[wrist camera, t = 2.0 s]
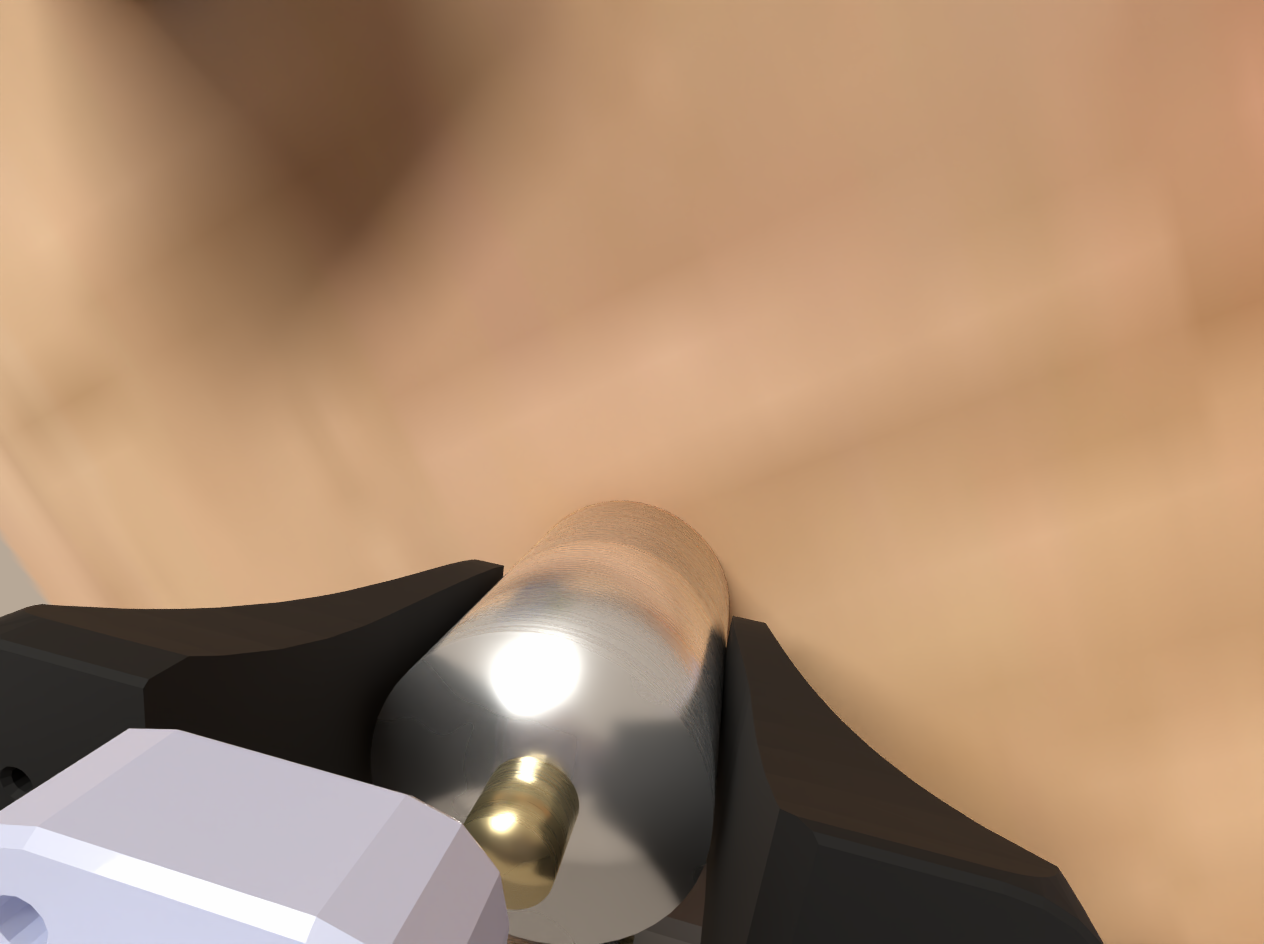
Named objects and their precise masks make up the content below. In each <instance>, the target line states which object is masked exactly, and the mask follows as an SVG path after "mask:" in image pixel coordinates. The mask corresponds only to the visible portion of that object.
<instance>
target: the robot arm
mask: <svg viewBox="0 0 1264 944" xmlns="http://www.w3.org/2000/svg"><path fill="white" fill-rule="evenodd" d="M503 569H504V566H503V565H498V564H494V563H489V562H484V561H480V560H467V561H462V562H457V563H453V564H449V565H445V566H441V567H438V568H434V569H431V570H427V571H423V572H420V573H416V574H413V575H409V576H405V577H402V578H398V579H394V580H391V581H386V582H382V583H378V584H374V585H370V586H366V587H362V588H357V589H353V590H349V591H345V592H340V593H335V594H330V595H324V596H319V597H312V598H306V599H299V600H293V601H286V602H278V603H267V604H255V605H244V606H232V607H221V608H197V609H119V608H98V607H78V606H58V605H45V604H40V605H34V606H30V607H26V608H24V609H21V610H18V611H16V612H13V613H11V614H8V615H5V616H3V617H0V944H507V940H508V932H509V919H508V914H507V908H506V903H505V897H504V892H503V886H502V881H501V876H500V872H499V870H498V869H497V867H496V866H495V865H494V863H493V862H492V861H491V859H490V858H489V857H488V856H487V854H486V853H485V852H484V851H483V849H482V848H481V847H480V845H479V844H478V843H477V842H476V840H475V839H474V838H473V837H472V835H471V834H470V833H469V832H468V830H467V829H466V828H465V826H464V825H463V824H462V823H461V822H460V821H458V820H456V819H455V818H453V817H451V816H449V815H447V814H445V813H443V812H441V811H440V810H438V809H436V808H434V807H432V806H430V805H428V804H426V803H425V802H423V801H421V800H419V799H417V798H415V797H413V796H411V795H407V794H404V793H400V792H397V791H393V790H390V789H386V788H383V787H379V786H376V785H373V782H372V775H371V747H372V739H373V733H374V729H375V726H376V722H377V719H378V716H379V714H380V711H381V709H382V707H383V705H384V703H385V700H386V699H387V697H388V696H389V694H390V693H391V691H392V690H393V688H394V687H395V685H396V684H397V683H398V682H399V681H400V680H401V679H402V677H403V676H404V675H405V674H406V673H407V672H408V671H409V670H410V669H411V668H412V667H413V666H414V665H415V664H416V663H417V662H418V661H419V660H420V659H421V658H422V657H423V656H424V655H425V654H426V653H427V652H428V651H429V650H430V649H431V648H432V647H433V646H434V645H435V644H436V643H437V642H438V641H439V640H440V639H441V638H442V637H443V636H444V635H445V634H446V633H447V632H448V631H449V630H450V629H451V628H452V627H453V626H454V625H455V624H456V623H457V622H458V621H459V620H460V619H461V618H462V617H463V616H464V615H465V614H466V613H467V612H468V611H469V610H470V609H471V608H472V607H473V606H474V605H475V604H476V603H477V602H478V601H479V600H480V599H481V598H483V597H484V596H485V595H486V594H487V593H488V592H489V591H490V590H491V589H492V588H493V587H494V586H495V585H496V584H497V583H498V582H499V581H500V580H501V579H502V578H503ZM700 944H1103V942H1102V940H1101V938H1100V937H1099V935H1098V933H1097V931H1096V930H1095V928H1094V926H1093V924H1092V923H1091V921H1090V919H1089V917H1088V915H1087V914H1086V912H1085V910H1084V908H1083V907H1082V905H1081V904H1080V902H1079V900H1078V899H1077V897H1076V895H1075V894H1074V892H1073V890H1072V889H1071V887H1070V885H1069V884H1068V882H1067V880H1066V879H1065V877H1064V876H1063V874H1062V873H1061V871H1060V870H1059V868H1058V867H1057V866H1055V865H1053V864H1051V863H1049V862H1047V861H1046V860H1044V859H1042V858H1040V857H1038V856H1036V855H1034V854H1033V853H1031V852H1029V851H1027V850H1025V849H1023V848H1022V847H1020V846H1018V845H1016V844H1014V843H1012V842H1010V841H1009V840H1007V839H1005V838H1003V837H1001V836H999V835H998V834H996V833H994V832H992V831H990V830H988V829H986V828H985V827H983V826H981V825H979V824H978V823H976V822H974V821H973V820H971V819H970V818H968V817H967V816H965V815H963V814H962V813H960V812H959V811H957V810H956V809H954V808H952V807H951V806H949V805H948V804H946V803H945V802H943V801H941V800H940V799H938V798H937V797H935V796H934V795H932V794H931V793H930V792H928V791H927V790H925V789H924V788H922V787H921V786H919V785H918V784H917V783H915V782H914V781H912V780H911V779H910V778H908V777H907V776H906V775H905V774H903V773H902V772H901V771H899V770H898V769H897V768H895V767H894V766H893V765H892V764H890V763H889V762H888V761H886V760H885V759H884V758H883V757H881V756H880V755H879V754H878V753H877V752H875V751H874V750H873V749H872V748H871V747H869V746H868V745H867V744H866V743H865V742H864V741H863V740H862V739H861V738H860V737H858V736H857V735H856V734H855V733H854V732H853V731H852V730H851V729H850V728H849V727H848V726H847V725H846V724H845V723H844V722H842V721H841V720H840V718H839V717H838V716H837V715H836V714H835V713H834V712H833V711H832V710H831V709H830V708H829V707H828V706H827V705H826V704H825V702H824V701H823V700H822V699H821V698H820V697H819V696H818V694H817V693H816V692H815V691H814V690H813V689H812V687H811V686H810V685H809V684H808V683H807V681H806V680H805V679H804V678H803V676H802V675H801V674H800V672H799V671H798V670H797V668H796V667H795V666H794V664H793V663H792V662H791V660H790V659H789V657H788V656H787V655H786V653H785V652H784V650H783V649H782V647H781V646H780V644H779V643H778V641H777V640H776V638H775V637H774V635H773V634H772V632H771V631H770V629H769V628H768V626H767V625H766V624H765V623H762V622H758V621H753V620H749V619H744V618H740V617H735V616H733V617H732V622H731V627H730V631H729V636H728V641H727V646H726V655H725V669H724V685H723V698H722V711H721V725H720V738H719V751H718V764H717V778H716V791H715V804H714V817H713V829H712V836H711V844H710V849H709V852H708V856H707V860H706V890H705V904H704V914H703V924H702V933H701V943H700Z"/></svg>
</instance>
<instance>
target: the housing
mask: <svg viewBox="0 0 1264 944" xmlns="http://www.w3.org/2000/svg"><path fill="white" fill-rule="evenodd" d="M728 619H729V594H728V587H727V582H726V579H725V576H724V572H723V570H722V568H721V565H720V563H719V561H718V559H717V557H716V556H715V554H714V552H713V551H712V549H711V548H710V546H709V545H708V544H707V543H706V541H705V540H704V539H703V538H702V537H701V536H700V535H699V534H698V533H697V532H696V531H695V530H694V529H693V528H692V527H691V526H689V525H688V524H687V523H685V522H684V521H683V520H681V519H680V518H678V517H676V516H674V515H673V514H671V513H669V512H667V511H665V510H662V509H660V508H657V507H655V506H651V505H647V504H643V503H638V502H631V501H610V502H602V503H597V504H594V505H590V506H587V507H584V508H582V509H580V510H577V511H575V512H573V513H572V514H570V515H568V516H567V517H565V518H564V519H563V520H561V521H560V522H559V523H558V524H556V525H555V526H554V527H553V528H552V529H551V530H550V531H549V532H548V533H547V534H546V535H545V536H544V537H543V538H542V539H541V540H540V541H539V542H538V543H537V544H536V545H535V546H534V547H533V548H532V549H531V550H530V551H529V552H528V553H527V554H526V555H525V556H524V557H523V558H522V559H521V560H520V561H519V562H518V563H517V564H516V565H515V566H514V567H513V568H512V569H511V570H510V571H509V572H508V573H507V574H506V575H505V576H504V577H503V578H502V579H501V580H500V581H499V582H498V583H497V584H496V585H495V586H494V587H493V588H492V589H491V590H490V591H489V592H488V593H487V594H486V595H485V596H484V597H483V598H481V599H480V600H479V601H478V602H477V603H476V604H475V605H474V606H473V607H472V608H471V609H470V610H469V611H468V612H467V613H466V614H465V615H464V616H463V617H462V618H461V619H460V620H459V621H458V622H457V623H456V624H455V625H454V626H453V627H452V628H451V629H450V630H449V631H448V632H447V633H446V634H445V635H444V636H443V637H442V638H441V639H440V640H439V641H438V642H437V643H436V644H435V645H434V646H433V647H432V648H431V649H430V650H429V651H428V652H427V653H426V654H425V655H424V656H423V657H422V658H421V659H420V660H419V661H418V662H417V663H416V664H415V665H414V666H413V667H412V668H411V669H410V670H409V671H408V672H407V673H406V674H405V675H404V676H403V677H402V679H401V680H400V681H399V682H398V683H397V684H396V685H395V687H394V688H393V690H392V691H391V693H390V694H389V696H388V697H387V699H386V700H385V703H384V705H383V707H382V709H381V711H380V714H379V716H378V719H377V722H376V726H375V729H374V733H373V739H372V747H371V775H372V782H373V785H376V786H379V787H383V788H386V789H390V790H393V791H397V792H400V793H404V794H407V795H411V796H413V797H415V798H417V799H419V800H421V801H423V802H425V803H426V804H428V805H430V806H432V807H434V808H436V809H438V810H440V811H441V812H443V813H445V814H447V815H449V816H451V817H453V818H455V819H456V820H458V821H460V822H461V823H462V824H463V825H464V826H465V828H466V829H467V830H468V832H469V833H470V834H471V835H472V837H473V838H474V839H475V840H476V842H477V843H478V844H479V845H480V847H481V848H482V849H483V851H484V852H485V853H486V854H487V856H488V857H489V858H490V859H491V861H492V862H493V863H494V865H495V866H496V867H497V869H498V870H499V872H500V876H501V881H502V886H503V892H504V897H505V903H506V908H507V914H508V919H509V932H508V934H510V935H513V936H516V937H520V938H524V939H528V940H532V941H536V942H542V943H549V944H601V943H606V942H610V941H615V940H620V939H622V938H625V937H628V936H631V935H634V934H637V933H639V932H641V931H643V930H645V929H647V928H649V927H651V926H652V925H654V924H656V923H657V922H659V921H660V920H661V919H663V918H664V917H666V916H667V915H668V914H670V913H671V912H672V911H673V910H674V909H675V908H676V907H677V906H678V905H679V904H680V903H681V902H682V901H683V900H684V899H685V898H686V896H687V895H688V894H689V892H690V891H691V889H692V888H693V887H694V885H695V884H696V882H697V880H698V878H699V876H700V874H701V872H702V870H703V868H704V865H705V862H706V859H707V856H708V852H709V849H710V844H711V836H712V829H713V817H714V804H715V791H716V778H717V764H718V751H719V738H720V725H721V711H722V698H723V685H724V669H725V655H726V645H727V632H728Z"/></svg>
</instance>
